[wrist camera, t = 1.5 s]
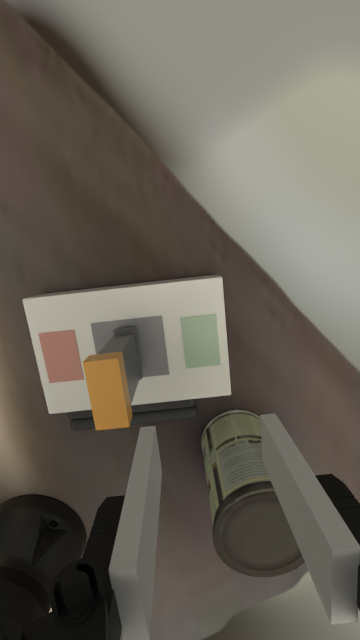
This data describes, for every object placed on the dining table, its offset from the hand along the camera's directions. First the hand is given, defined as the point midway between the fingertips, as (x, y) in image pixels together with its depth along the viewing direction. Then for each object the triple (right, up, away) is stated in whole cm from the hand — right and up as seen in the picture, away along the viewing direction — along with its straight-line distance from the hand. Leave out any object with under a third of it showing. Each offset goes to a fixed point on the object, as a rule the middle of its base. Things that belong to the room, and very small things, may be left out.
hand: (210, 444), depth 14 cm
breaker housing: (-7, +4, +22) cm, 24 cm away
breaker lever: (-7, +3, +17) cm, 19 cm away
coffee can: (+7, -11, +26) cm, 29 cm away
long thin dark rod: (-8, -6, +25) cm, 26 cm away
